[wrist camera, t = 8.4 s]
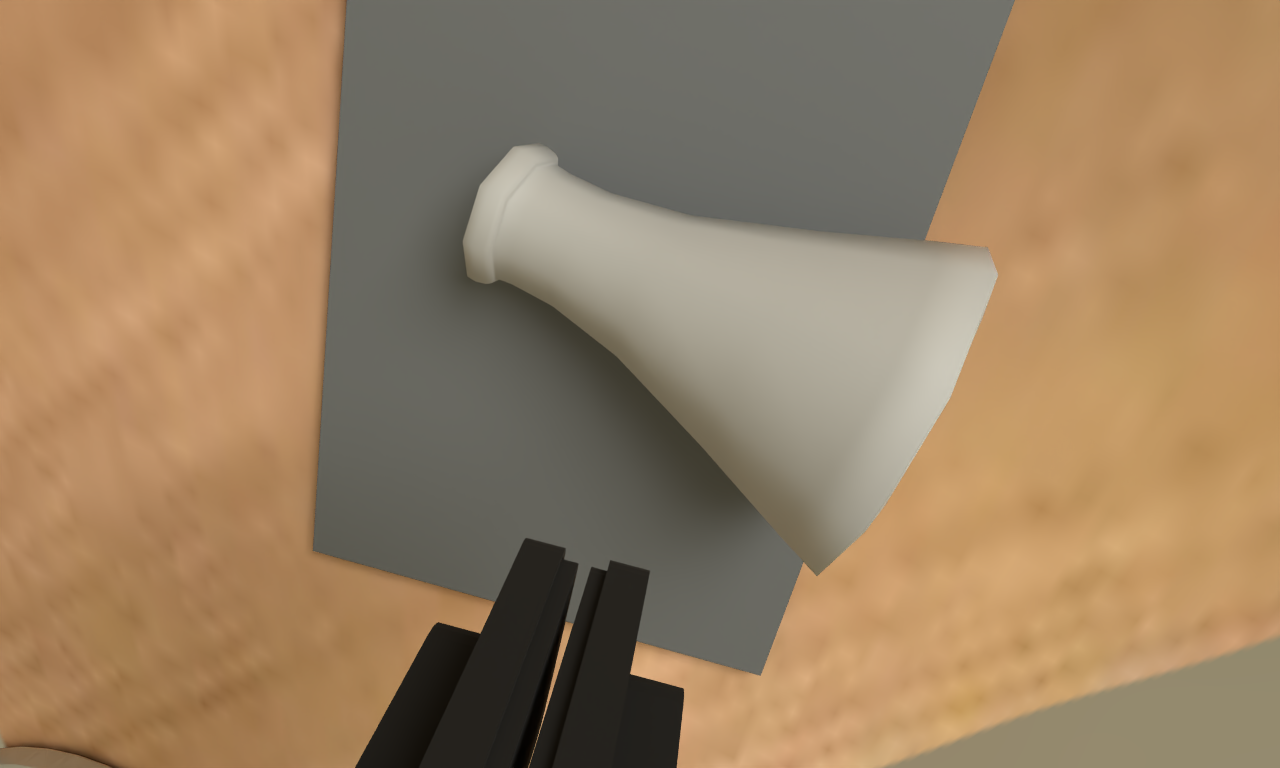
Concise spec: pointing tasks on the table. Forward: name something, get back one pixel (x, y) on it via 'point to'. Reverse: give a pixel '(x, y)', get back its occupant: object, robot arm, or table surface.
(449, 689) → the robot arm
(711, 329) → the flask
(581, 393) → the mat
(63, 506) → the table surface
